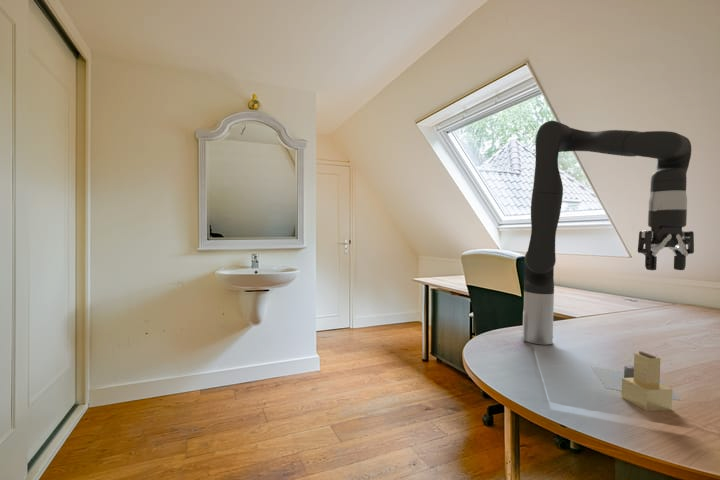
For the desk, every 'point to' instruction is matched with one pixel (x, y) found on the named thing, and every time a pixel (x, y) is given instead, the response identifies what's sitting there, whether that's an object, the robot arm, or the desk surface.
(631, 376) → the thin grey square mat
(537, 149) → the robot arm
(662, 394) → the cream stepped block
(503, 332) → the desk surface
